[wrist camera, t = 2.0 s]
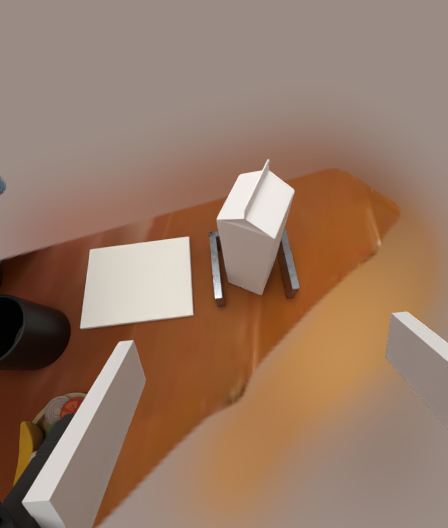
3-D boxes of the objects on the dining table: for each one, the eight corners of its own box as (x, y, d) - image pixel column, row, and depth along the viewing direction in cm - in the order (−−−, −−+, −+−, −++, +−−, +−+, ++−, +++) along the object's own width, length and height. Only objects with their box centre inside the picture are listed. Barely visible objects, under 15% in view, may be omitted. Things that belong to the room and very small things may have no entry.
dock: (218, 306, 39) (215, 298, 35) (212, 246, 44) (208, 231, 39) (293, 297, 39) (299, 288, 34) (279, 237, 43) (284, 222, 39)
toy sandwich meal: (119, 386, 36) (102, 389, 32) (113, 506, 31) (92, 528, 26) (36, 397, 36) (8, 401, 32) (16, 518, 31) (-21, 542, 27)
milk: (227, 282, 41) (209, 198, 21) (241, 252, 43) (237, 148, 23) (262, 296, 40) (279, 220, 19) (275, 264, 42) (301, 164, 21)
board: (83, 329, 40) (80, 328, 39) (93, 251, 45) (90, 249, 44) (194, 316, 39) (192, 314, 38) (189, 239, 45) (188, 236, 44)
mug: (-4, 329, 41) (-68, 319, 32) (66, 300, 42) (22, 283, 34) (-2, 388, 37) (-72, 393, 29) (75, 353, 38) (29, 349, 30)
